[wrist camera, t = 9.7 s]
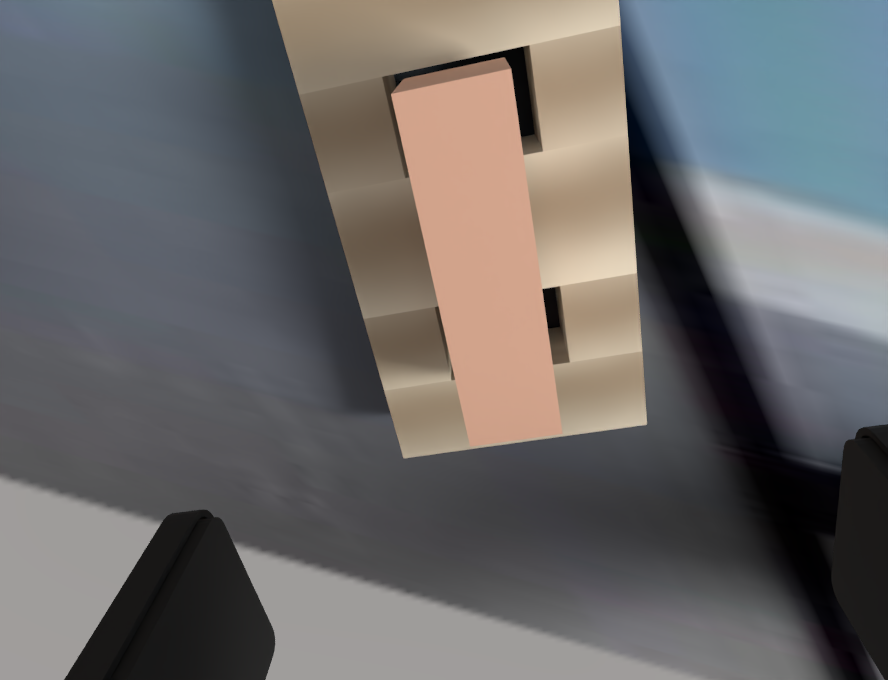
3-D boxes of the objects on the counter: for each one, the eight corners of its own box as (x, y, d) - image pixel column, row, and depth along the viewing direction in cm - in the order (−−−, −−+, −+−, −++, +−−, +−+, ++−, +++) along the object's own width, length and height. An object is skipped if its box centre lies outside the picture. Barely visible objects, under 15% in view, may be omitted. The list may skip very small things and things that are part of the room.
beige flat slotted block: (630, 384, 28) (647, 424, 26) (409, 417, 29) (403, 458, 27) (592, -97, 20) (611, -111, 17) (289, -24, 21) (264, -27, 19)
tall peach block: (539, 327, 27) (562, 433, 20) (470, 339, 27) (470, 446, 21) (498, 48, 22) (510, 68, 16) (414, 66, 22) (390, 93, 16)
